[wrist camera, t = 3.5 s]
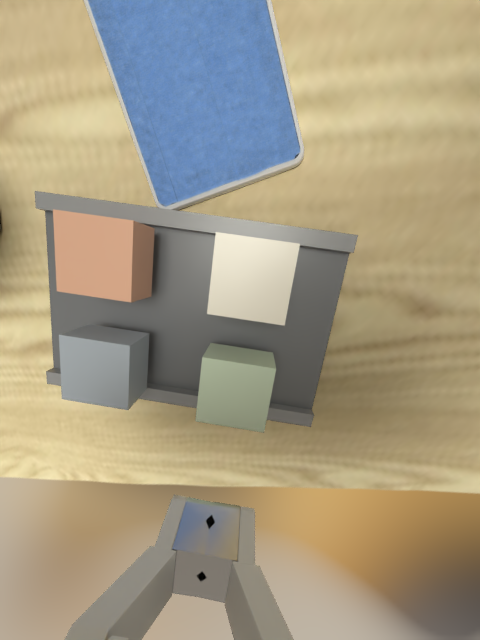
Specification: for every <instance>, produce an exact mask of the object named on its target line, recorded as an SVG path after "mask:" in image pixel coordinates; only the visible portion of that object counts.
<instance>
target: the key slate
mask: <svg viewBox="0 0 480 640" xmlns="http://www.w3.org/2000/svg"><path fill="white" fill-rule="evenodd" d="M149 334H150V333H144V332H138V331H131V330H125V329H118V328H112V327H105V326H99V325H93V324H88V325H85V326H82V327H79V328H77V329H74V330H71V331H68V332H65V333H62V334H59V348H60V369H61V390H62V399H65V400H71V401H77V402H83V403H89V404H95V405H101V406H107V407H113V408H119V409H125V410H129V408H130V407H131V406H132V405H133V404H134V403H135V402H136V400H137V399H138V398H139V397H140V396H141V395H142V394H143V393H144V391H145V390H146V389H147V375H148V354H149Z"/></svg>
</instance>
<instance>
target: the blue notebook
mask: <svg viewBox="0 0 480 640" xmlns="http://www.w3.org/2000/svg"><path fill="white" fill-rule="evenodd" d="M84 3H85V6H86V9H87V12H88V14H89V17H90V20H91V23H92V26H93V29H94V31H95V34H96V37H97V40H98V43H99V46H100V48H101V51H102V54H103V57H104V60H105V63H106V66H107V69H108V71H109V74H110V77H111V80H112V83H113V85H114V88H115V91H116V94H117V97H118V99H119V102H120V105H121V108H122V111H123V114H124V116H125V119H126V122H127V125H128V128H129V131H130V134H131V136H132V139H133V142H134V145H135V147H136V150H137V153H138V156H139V158H140V161H141V164H142V166H143V169H144V172H145V175H146V178H147V181H148V183H149V186H150V189H151V192H152V194H153V197H154V200H155V203H156V205H157V206H158V208H162V209H170V210H180V209H183V208H186V207H189V206H192V205H194V204H197V203H200V202H203V201H205V200H208V199H211V198H214V197H217V196H220V195H222V194H225V193H228V192H231V191H233V190H236V189H239V188H242V187H244V186H247V185H250V184H252V183H255V182H258V181H260V180H263V179H266V178H269V177H271V176H274V175H276V174H279V173H282V172H284V171H287V170H290V169H292V168H295V167H296V166H298V165H299V164H300V163H301V161H302V160H303V157H304V145H303V141H302V137H301V132H300V128H299V123H298V119H297V114H296V109H295V105H294V100H293V95H292V91H291V86H290V82H289V78H288V73H287V69H286V64H285V60H284V55H283V50H282V46H281V41H280V37H279V32H278V28H277V24H276V19H275V15H274V11H273V6H272V2H271V0H84Z"/></svg>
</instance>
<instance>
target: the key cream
mask: <svg viewBox="0 0 480 640" xmlns="http://www.w3.org/2000/svg"><path fill="white" fill-rule="evenodd" d="M299 247H300V244H299V243H292V242H284V241H277V240H270V239H263V238H256V237H248V236H241V235H234V234H227V233H220V232H216V234H215V244H214V253H213V262H212V272H211V281H210V290H209V299H208V309H207V314H211V315H217V316H224V317H230V318H237V319H244V320H250V321H257V322H264V323H270V324H277V325H283V326H285V320H286V315H287V310H288V305H289V299H290V294H291V289H292V284H293V279H294V273H295V268H296V263H297V258H298V252H299Z"/></svg>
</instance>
